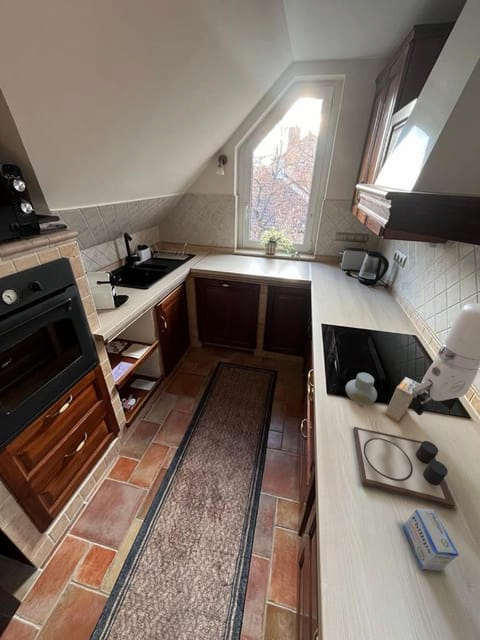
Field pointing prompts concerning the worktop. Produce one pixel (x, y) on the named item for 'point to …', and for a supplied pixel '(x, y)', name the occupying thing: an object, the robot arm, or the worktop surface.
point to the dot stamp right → (435, 472)
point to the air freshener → (362, 389)
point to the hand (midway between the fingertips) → (430, 407)
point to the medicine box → (429, 540)
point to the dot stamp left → (426, 452)
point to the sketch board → (396, 467)
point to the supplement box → (401, 399)
